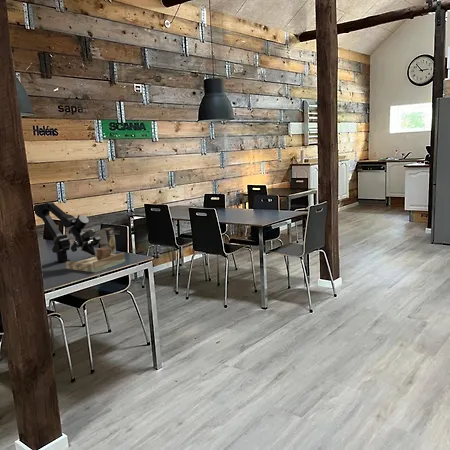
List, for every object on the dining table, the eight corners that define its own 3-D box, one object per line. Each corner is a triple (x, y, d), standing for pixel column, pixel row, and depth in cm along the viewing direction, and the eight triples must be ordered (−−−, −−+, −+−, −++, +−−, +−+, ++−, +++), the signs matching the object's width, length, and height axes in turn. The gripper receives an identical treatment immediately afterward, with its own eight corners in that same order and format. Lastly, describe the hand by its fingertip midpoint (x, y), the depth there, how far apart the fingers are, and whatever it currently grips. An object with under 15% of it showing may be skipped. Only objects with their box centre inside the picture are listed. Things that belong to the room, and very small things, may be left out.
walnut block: (97, 263, 253) (96, 249, 252) (104, 261, 257) (102, 247, 256) (104, 264, 250) (102, 250, 249) (110, 262, 255) (109, 248, 253)
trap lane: (66, 268, 253) (65, 259, 252) (97, 258, 273) (96, 250, 272) (95, 272, 242) (94, 262, 241) (125, 261, 261) (124, 252, 260)
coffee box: (110, 255, 279) (107, 230, 277) (100, 255, 281) (97, 230, 278) (116, 252, 288) (114, 227, 285) (107, 252, 290) (104, 227, 287)
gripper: (72, 228, 248) (88, 249, 245) (97, 222, 264) (113, 242, 261) (63, 241, 254) (79, 262, 250) (89, 234, 269) (104, 254, 266)
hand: (94, 254), depth 257 cm, fingers closed
